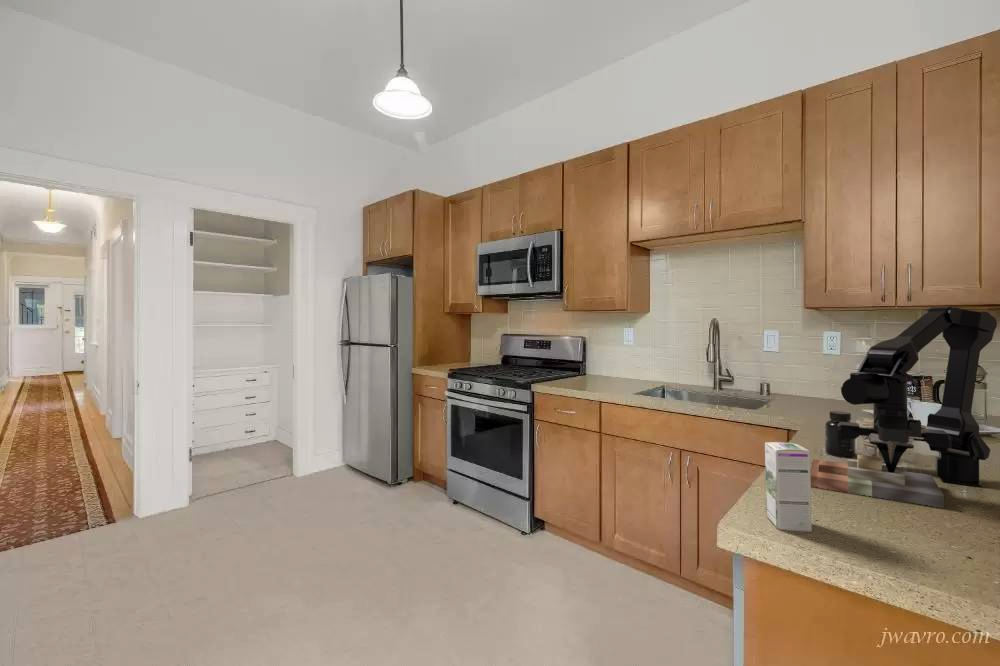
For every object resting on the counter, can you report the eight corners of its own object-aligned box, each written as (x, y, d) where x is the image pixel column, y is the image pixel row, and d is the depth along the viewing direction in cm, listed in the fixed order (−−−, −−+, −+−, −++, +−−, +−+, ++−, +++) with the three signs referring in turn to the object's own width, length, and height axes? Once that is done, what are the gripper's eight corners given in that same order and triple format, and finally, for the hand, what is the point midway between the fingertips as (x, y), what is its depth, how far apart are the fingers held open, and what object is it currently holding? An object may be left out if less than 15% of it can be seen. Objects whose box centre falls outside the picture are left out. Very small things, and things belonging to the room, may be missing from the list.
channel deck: (931, 486, 102) (931, 466, 102) (944, 508, 89) (944, 486, 89) (812, 468, 115) (812, 451, 115) (809, 486, 103) (809, 466, 103)
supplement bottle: (819, 451, 131) (819, 410, 131) (841, 451, 132) (841, 409, 132) (838, 458, 124) (838, 414, 124) (862, 457, 125) (861, 414, 125)
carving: (866, 461, 122) (865, 416, 122) (902, 468, 115) (901, 420, 115) (856, 465, 118) (855, 419, 118) (892, 472, 112) (892, 424, 112)
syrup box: (813, 532, 80) (812, 450, 80) (776, 530, 81) (775, 448, 81) (798, 519, 85) (798, 442, 85) (764, 517, 87) (763, 441, 86)
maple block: (879, 474, 103) (879, 457, 103) (881, 479, 100) (881, 461, 99) (857, 471, 105) (857, 454, 105) (858, 476, 102) (858, 458, 102)
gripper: (837, 403, 99) (838, 475, 99) (957, 411, 88) (958, 492, 88) (837, 397, 108) (838, 463, 108) (946, 404, 97) (946, 477, 97)
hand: (890, 473), depth 100 cm, fingers closed
